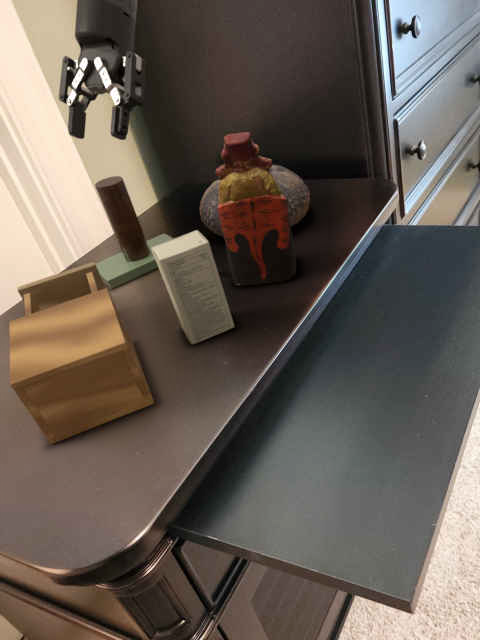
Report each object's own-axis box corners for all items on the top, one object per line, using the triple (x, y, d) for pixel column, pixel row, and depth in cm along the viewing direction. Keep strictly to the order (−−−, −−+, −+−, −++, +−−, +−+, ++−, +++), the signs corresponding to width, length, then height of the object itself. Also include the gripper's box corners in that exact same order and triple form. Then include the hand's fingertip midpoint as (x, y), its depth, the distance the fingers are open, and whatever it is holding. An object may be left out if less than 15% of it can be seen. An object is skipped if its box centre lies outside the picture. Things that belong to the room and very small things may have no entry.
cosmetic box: (224, 313, 71) (199, 228, 63) (236, 328, 68) (210, 240, 60) (181, 330, 69) (149, 245, 61) (190, 346, 66) (158, 259, 58)
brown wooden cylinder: (121, 262, 85) (89, 188, 77) (131, 250, 88) (102, 177, 80) (144, 260, 84) (115, 185, 76) (154, 248, 87) (126, 174, 79)
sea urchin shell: (237, 196, 101) (233, 141, 94) (326, 217, 95) (329, 160, 88) (182, 239, 89) (172, 180, 82) (280, 266, 84) (279, 205, 76)
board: (111, 289, 82) (107, 280, 81) (93, 274, 87) (89, 265, 86) (188, 253, 87) (185, 245, 86) (167, 241, 92) (164, 233, 91)
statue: (302, 256, 80) (277, 112, 66) (298, 283, 74) (270, 131, 60) (225, 265, 81) (187, 126, 68) (216, 291, 76) (171, 146, 62)
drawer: (40, 315, 77) (16, 274, 72) (109, 291, 79) (90, 250, 75) (46, 375, 65) (18, 330, 60) (128, 345, 67) (106, 300, 62)
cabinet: (44, 377, 66) (9, 321, 61) (133, 344, 69) (107, 287, 63) (51, 444, 56) (9, 384, 51) (154, 403, 59) (125, 342, 53)
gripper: (48, 0, 71) (40, 128, 74) (123, -12, 65) (111, 128, 68) (93, 29, 77) (84, 145, 81) (165, 21, 71) (153, 147, 74)
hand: (96, 137), depth 74 cm, fingers open, 8 cm apart
